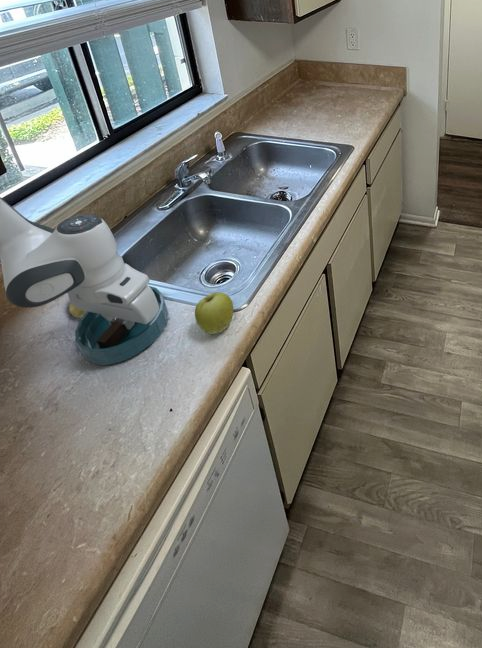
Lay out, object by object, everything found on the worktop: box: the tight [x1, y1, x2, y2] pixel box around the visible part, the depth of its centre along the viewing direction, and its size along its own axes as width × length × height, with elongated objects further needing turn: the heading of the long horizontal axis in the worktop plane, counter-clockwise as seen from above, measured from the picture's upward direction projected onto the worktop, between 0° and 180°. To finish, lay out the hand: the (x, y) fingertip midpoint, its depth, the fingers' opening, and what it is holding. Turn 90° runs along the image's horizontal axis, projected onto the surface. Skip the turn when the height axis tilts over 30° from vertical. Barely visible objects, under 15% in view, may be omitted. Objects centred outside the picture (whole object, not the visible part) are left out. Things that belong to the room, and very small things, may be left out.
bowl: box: [74, 285, 169, 366], centre depth 100 cm, size 17×17×5 cm
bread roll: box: [68, 302, 87, 320], centre depth 107 cm, size 8×9×4 cm
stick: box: [96, 318, 137, 349], centre depth 99 cm, size 11×2×4 cm, turn 167°
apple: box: [194, 291, 234, 335], centre depth 100 cm, size 8×8×10 cm
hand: (123, 324), depth 99 cm, fingers closed on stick, 2 cm apart
